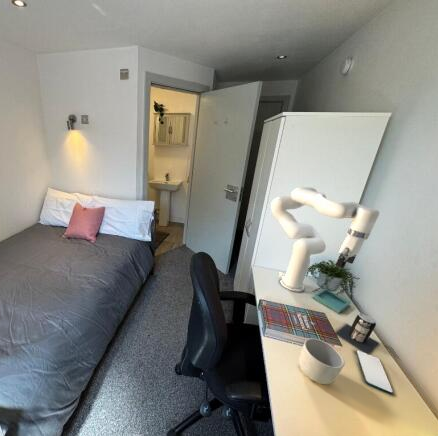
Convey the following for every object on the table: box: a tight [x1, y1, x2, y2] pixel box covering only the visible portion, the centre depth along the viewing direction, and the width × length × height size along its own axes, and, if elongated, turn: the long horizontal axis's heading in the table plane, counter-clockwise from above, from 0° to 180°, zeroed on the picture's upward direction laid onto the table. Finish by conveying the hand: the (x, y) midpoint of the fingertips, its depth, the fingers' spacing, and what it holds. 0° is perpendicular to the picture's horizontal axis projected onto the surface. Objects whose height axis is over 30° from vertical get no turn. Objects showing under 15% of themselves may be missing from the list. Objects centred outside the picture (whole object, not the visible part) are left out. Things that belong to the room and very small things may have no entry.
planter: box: [298, 337, 346, 385], centre depth 88 cm, size 12×12×11 cm
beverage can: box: [348, 312, 377, 343], centre depth 104 cm, size 7×7×12 cm
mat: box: [335, 323, 379, 355], centre depth 106 cm, size 12×12×1 cm
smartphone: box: [355, 349, 394, 395], centre depth 91 cm, size 8×1×16 cm
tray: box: [313, 288, 352, 314], centre depth 129 cm, size 13×13×2 cm
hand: (343, 264), depth 113 cm, fingers open, 9 cm apart
